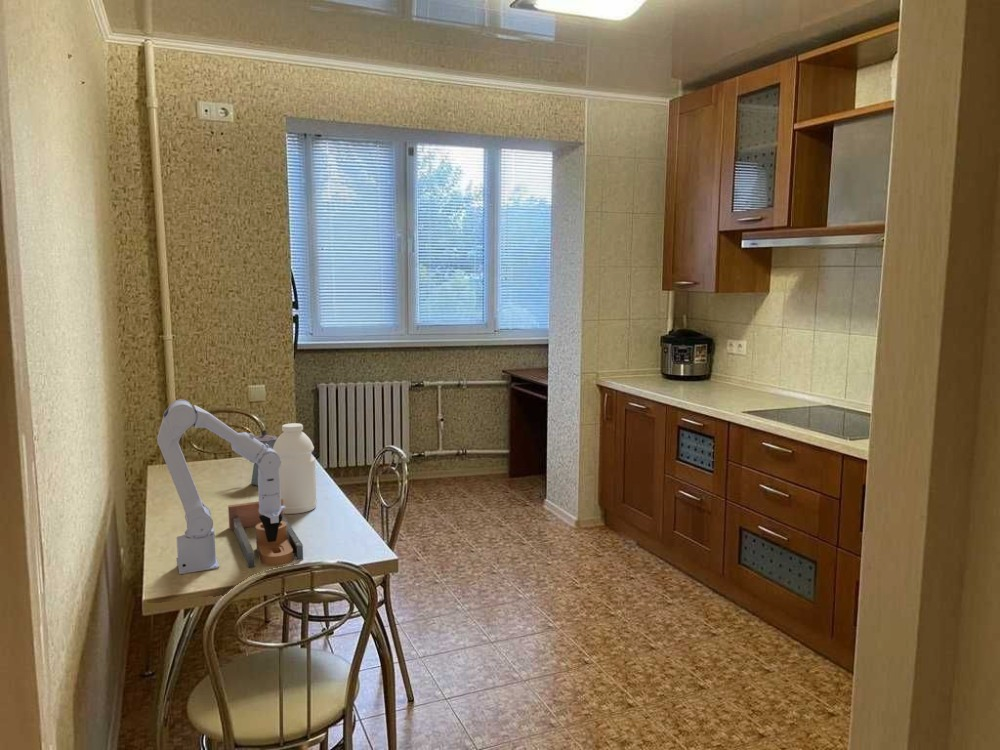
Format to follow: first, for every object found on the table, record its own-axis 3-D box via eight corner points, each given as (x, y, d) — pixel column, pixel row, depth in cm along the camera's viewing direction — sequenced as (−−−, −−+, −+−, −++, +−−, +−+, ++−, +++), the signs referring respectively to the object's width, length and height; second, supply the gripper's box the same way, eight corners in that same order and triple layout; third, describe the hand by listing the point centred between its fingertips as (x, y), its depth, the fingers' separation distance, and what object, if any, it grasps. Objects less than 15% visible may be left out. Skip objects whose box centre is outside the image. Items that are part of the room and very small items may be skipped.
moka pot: (276, 487, 267) (274, 433, 265) (237, 486, 270) (234, 432, 267) (288, 480, 276) (285, 428, 274) (249, 479, 279) (247, 427, 276)
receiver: (244, 568, 192) (243, 542, 191) (228, 527, 224) (227, 505, 223) (306, 558, 199) (305, 533, 198) (282, 520, 231) (282, 498, 230)
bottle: (321, 501, 250) (318, 420, 247) (312, 514, 237) (309, 428, 233) (279, 502, 250) (276, 421, 246) (268, 514, 236) (264, 429, 233)
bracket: (255, 546, 208) (253, 522, 208) (285, 542, 212) (284, 518, 211) (263, 568, 192) (262, 543, 191) (295, 563, 196) (294, 538, 195)
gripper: (289, 497, 194) (291, 547, 196) (280, 484, 207) (282, 530, 209) (261, 501, 191) (264, 551, 193) (254, 487, 204) (256, 534, 206)
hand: (271, 541), depth 201 cm, fingers closed
